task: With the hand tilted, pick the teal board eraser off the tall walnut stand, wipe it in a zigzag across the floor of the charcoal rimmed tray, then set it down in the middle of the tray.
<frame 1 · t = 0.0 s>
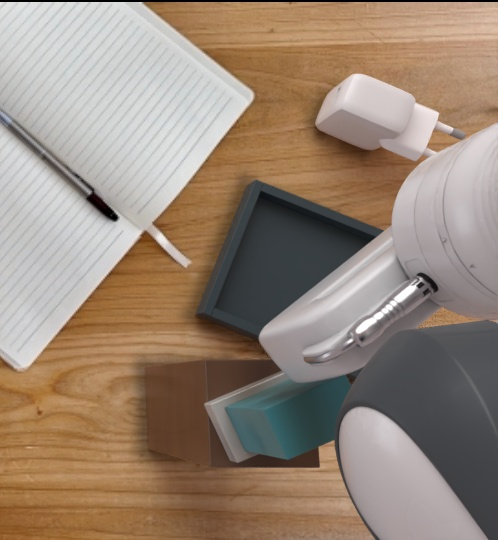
hand: (364, 266, 54), 21 cm above the table, tool pointing down, fingers open, 8 cm apart
power adapter: (374, 135, 76), on the table
tray: (305, 284, 75), on the table
eraser: (262, 413, 56), point 18 cm above the table, touching stand
stand: (187, 407, 74), on the table
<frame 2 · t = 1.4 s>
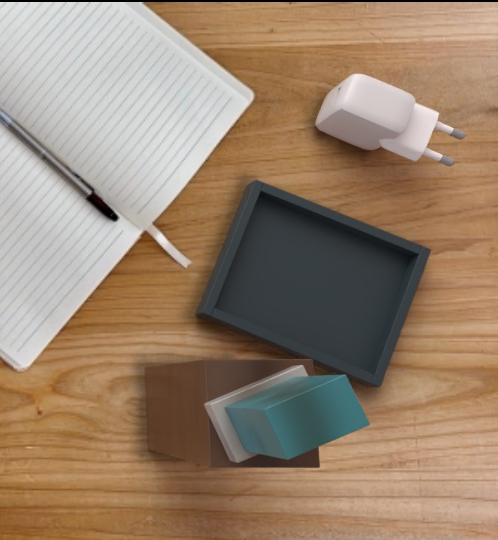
nothing on the table moved.
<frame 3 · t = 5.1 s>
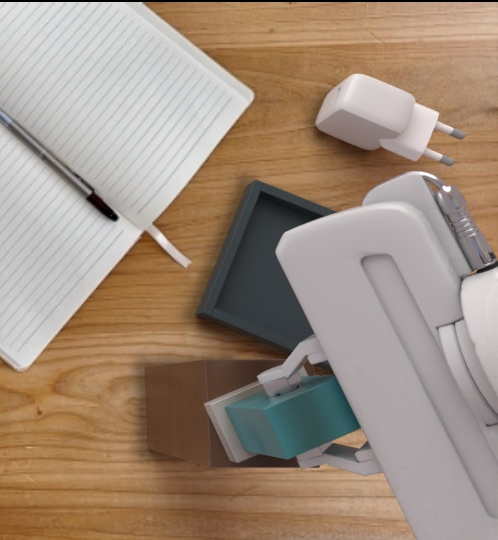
hand: (281, 419, 51), 23 cm above the table, tool tilted 45°, fingers closed on eraser, 3 cm apart
eraser: (262, 413, 56), point 18 cm above the table, touching gripper, stand
everything else where it was.
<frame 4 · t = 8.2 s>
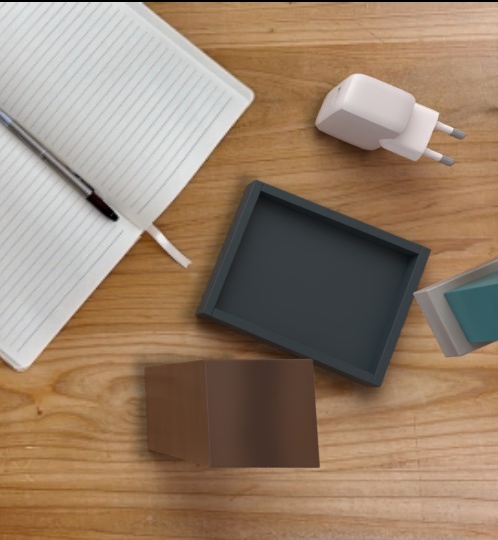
eraser: (480, 303, 49), point 26 cm above the table, touching gripper
everything else where it was.
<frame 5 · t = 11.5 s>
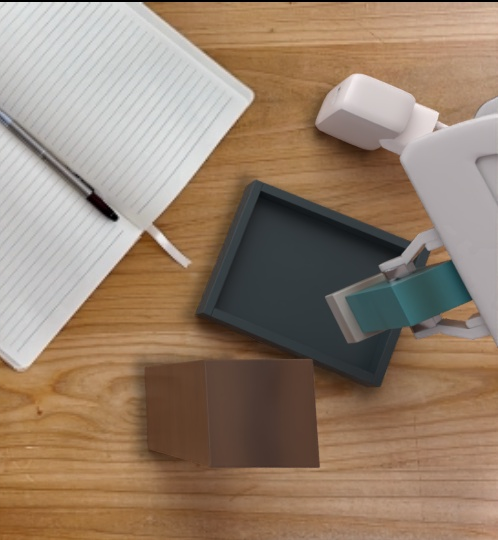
hand: (398, 301, 62), 12 cm above the table, tool tilted 45°, fingers closed on eraser, 3 cm apart
eraser: (373, 303, 67), point 7 cm above the table, touching gripper
everything else where it was.
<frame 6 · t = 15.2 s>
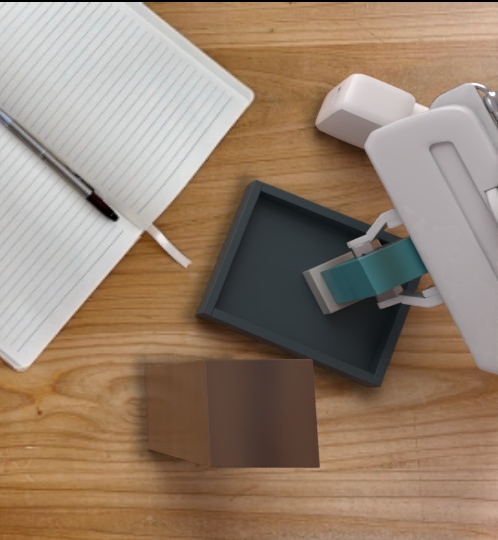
hand: (365, 275, 69), 5 cm above the table, tool tilted 45°, fingers closed on eraser, 3 cm apart
eraser: (346, 278, 74), point 1 cm above the table, touching gripper
everything else where it was.
when the fingers open (5 cm above the table, at t = 18.0 s): eraser stays where it is, resting on tray.
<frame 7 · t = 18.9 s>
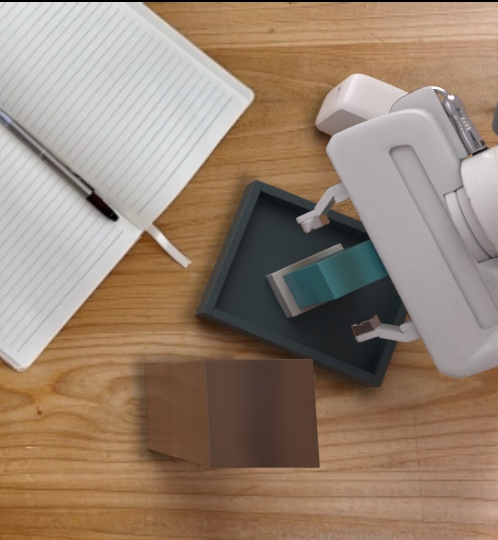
hand: (328, 278, 69), 6 cm above the table, tool tilted 45°, fingers open, 8 cm apart
eraser: (310, 282, 74), point 1 cm above the table, touching tray
everything else where it was.
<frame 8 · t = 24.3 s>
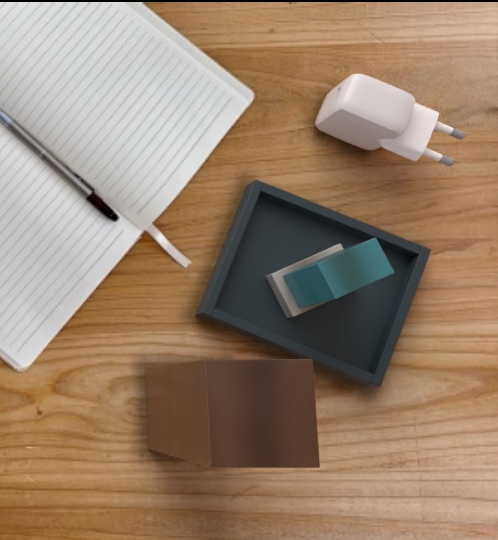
nothing on the table moved.
at the end: eraser inside the target area in the tray (0.1 cm from its centre), point 0.8 cm above the tray's base; eraser tilted 0°; eraser moved 22.9 cm from its start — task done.
